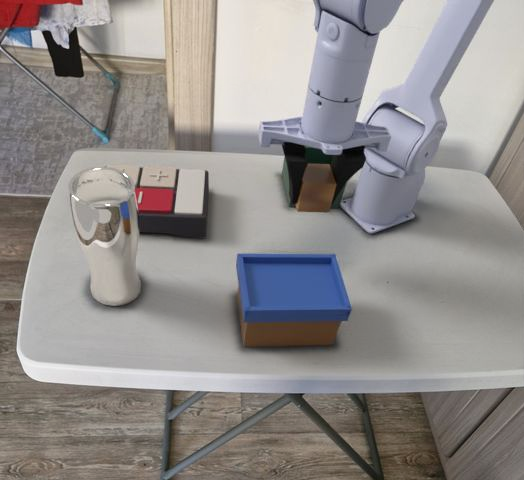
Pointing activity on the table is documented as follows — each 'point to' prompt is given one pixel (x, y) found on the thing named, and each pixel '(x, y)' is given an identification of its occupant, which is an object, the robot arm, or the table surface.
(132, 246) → the beer glass
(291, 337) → the lidded box
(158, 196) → the calculator
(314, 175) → the block
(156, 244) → the table surface
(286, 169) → the green storage bin
